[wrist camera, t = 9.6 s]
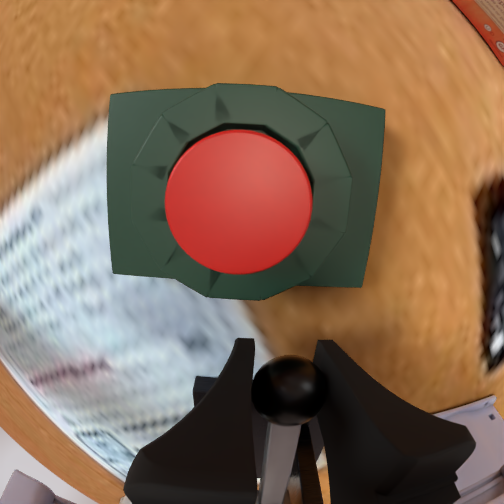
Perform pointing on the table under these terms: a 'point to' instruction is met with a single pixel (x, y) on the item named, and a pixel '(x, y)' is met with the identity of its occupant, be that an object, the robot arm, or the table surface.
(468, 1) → the cracker box
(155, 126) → the block
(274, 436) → the lever
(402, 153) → the table surface
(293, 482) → the bracket
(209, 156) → the button
